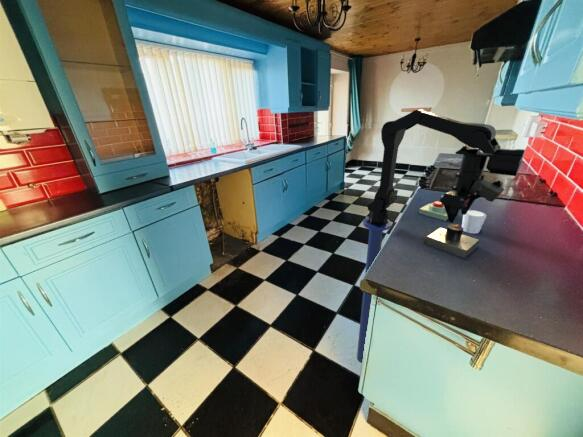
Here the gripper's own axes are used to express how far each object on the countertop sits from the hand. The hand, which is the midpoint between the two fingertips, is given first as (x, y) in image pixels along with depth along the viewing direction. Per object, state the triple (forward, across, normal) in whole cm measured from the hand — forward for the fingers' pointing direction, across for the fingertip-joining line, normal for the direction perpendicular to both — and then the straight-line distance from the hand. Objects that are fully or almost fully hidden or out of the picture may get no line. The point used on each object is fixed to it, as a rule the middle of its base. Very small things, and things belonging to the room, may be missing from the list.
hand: (457, 218), depth 76 cm
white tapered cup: (+11, +18, 0) cm, 21 cm away
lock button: (+7, +23, +15) cm, 29 cm away
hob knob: (+8, 0, 0) cm, 8 cm away
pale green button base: (+11, +23, +15) cm, 30 cm away
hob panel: (+11, 0, 0) cm, 11 cm away
